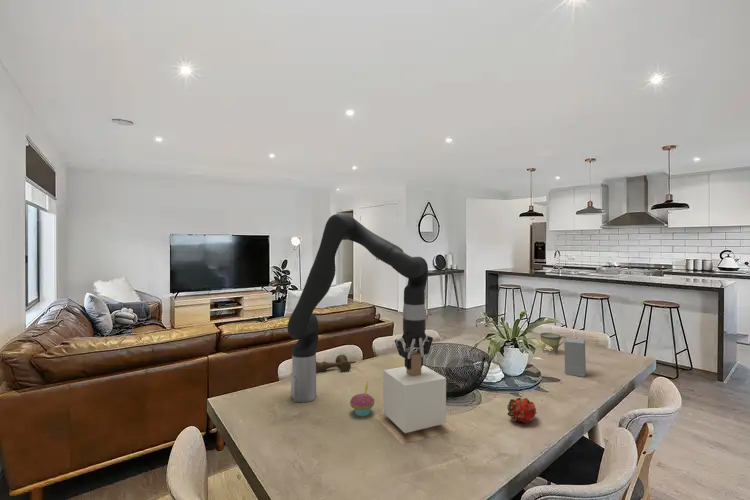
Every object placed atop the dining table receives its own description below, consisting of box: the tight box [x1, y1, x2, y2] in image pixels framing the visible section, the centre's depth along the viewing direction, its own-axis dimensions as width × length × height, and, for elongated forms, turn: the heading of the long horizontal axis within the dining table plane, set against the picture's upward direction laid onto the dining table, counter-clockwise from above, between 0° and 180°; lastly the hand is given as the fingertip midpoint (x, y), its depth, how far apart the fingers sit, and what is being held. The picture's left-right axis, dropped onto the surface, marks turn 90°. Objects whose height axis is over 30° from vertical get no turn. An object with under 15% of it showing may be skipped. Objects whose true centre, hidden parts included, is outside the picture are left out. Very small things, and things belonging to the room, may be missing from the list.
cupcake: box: [349, 381, 375, 417], centre depth 133 cm, size 9×8×12 cm
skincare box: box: [563, 337, 587, 378], centre depth 173 cm, size 8×7×16 cm
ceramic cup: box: [540, 332, 567, 355], centre depth 205 cm, size 13×10×10 cm
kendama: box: [316, 354, 357, 374], centre depth 180 cm, size 6×10×20 cm
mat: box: [374, 413, 457, 445], centre depth 126 cm, size 20×20×1 cm
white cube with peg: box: [382, 350, 447, 433], centre depth 126 cm, size 15×15×22 cm
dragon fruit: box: [507, 397, 538, 425], centre depth 129 cm, size 8×8×12 cm
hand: (413, 367), depth 126 cm, fingers closed on white cube with peg, 3 cm apart
